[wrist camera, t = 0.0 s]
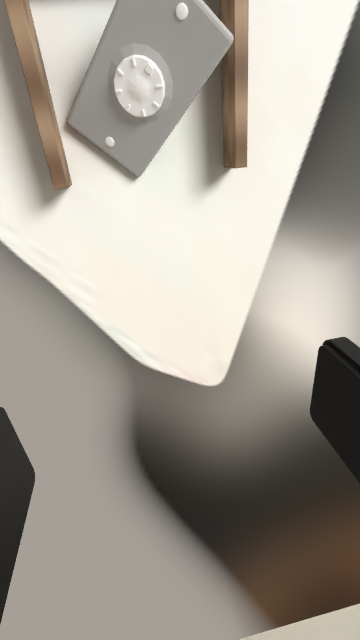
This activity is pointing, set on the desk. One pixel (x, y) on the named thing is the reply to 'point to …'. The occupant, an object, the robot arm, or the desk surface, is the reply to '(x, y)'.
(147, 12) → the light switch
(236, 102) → the walnut open frame
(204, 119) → the desk surface
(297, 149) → the desk surface
